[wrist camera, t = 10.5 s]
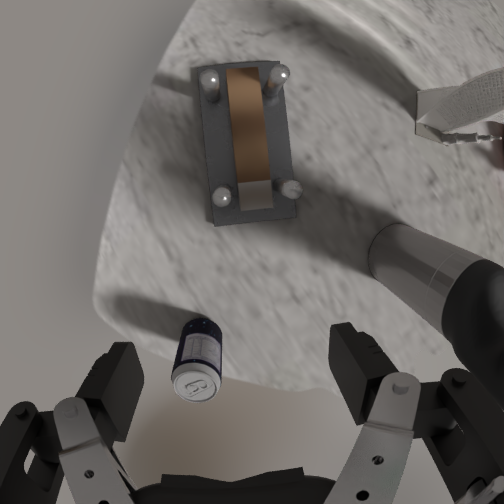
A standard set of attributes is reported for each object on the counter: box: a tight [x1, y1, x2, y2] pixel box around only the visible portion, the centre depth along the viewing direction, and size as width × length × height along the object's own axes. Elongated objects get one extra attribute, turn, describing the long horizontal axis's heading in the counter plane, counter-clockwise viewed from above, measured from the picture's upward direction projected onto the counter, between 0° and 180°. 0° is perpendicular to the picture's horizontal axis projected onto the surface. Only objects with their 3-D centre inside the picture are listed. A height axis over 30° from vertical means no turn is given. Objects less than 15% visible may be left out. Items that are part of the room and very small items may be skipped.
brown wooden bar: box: [226, 67, 273, 211], centre depth 31 cm, size 16×4×4 cm, turn 6°
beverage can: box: [171, 318, 222, 403], centre depth 34 cm, size 6×6×12 cm
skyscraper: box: [415, 67, 504, 146], centre depth 20 cm, size 8×8×28 cm
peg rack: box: [198, 61, 303, 227], centre depth 29 cm, size 10×20×8 cm, turn 6°
